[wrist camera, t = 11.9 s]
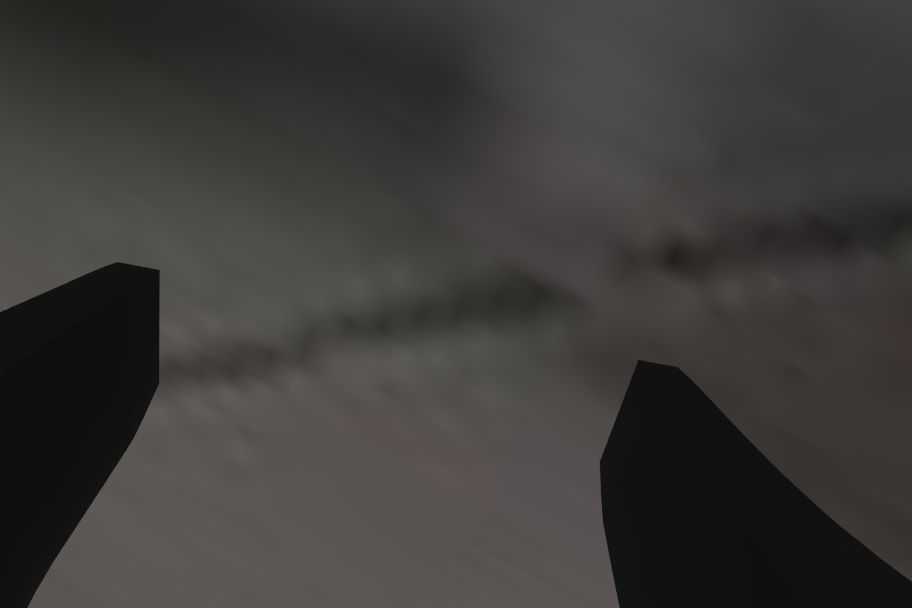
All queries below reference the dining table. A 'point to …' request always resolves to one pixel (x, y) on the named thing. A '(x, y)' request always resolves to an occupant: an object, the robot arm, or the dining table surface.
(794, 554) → the robot arm
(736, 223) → the dining table surface
